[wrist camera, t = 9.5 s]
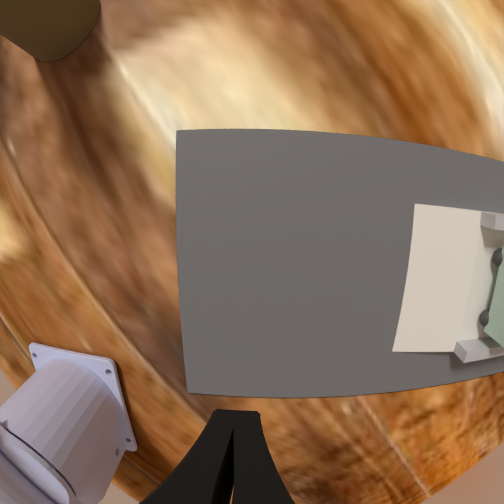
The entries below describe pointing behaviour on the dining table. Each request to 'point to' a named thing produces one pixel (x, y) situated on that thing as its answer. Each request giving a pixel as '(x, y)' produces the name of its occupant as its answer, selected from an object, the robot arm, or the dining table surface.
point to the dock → (333, 263)
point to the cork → (48, 25)
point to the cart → (496, 303)
